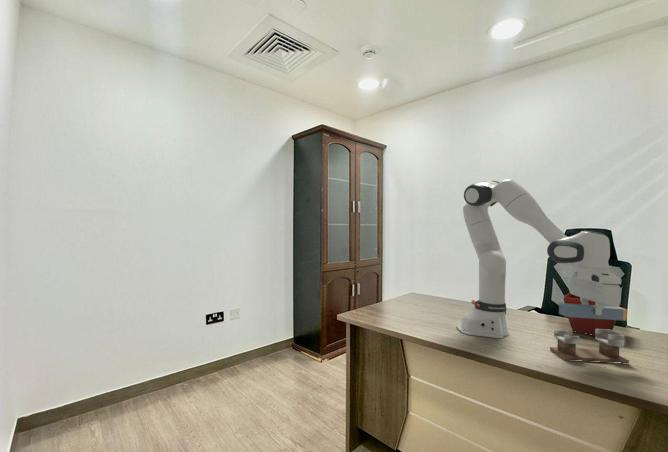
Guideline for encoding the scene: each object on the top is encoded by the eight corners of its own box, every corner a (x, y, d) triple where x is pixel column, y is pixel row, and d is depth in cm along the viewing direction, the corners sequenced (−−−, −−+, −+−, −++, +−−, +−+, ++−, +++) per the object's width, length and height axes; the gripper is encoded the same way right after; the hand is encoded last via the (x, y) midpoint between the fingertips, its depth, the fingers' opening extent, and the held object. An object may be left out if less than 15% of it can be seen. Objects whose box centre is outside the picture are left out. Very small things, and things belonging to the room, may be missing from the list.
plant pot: (569, 323, 154) (570, 291, 154) (620, 333, 140) (620, 297, 140) (562, 331, 141) (563, 296, 141) (618, 343, 127) (618, 304, 127)
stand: (565, 360, 109) (565, 333, 109) (550, 350, 118) (550, 325, 118) (629, 364, 107) (629, 336, 107) (608, 354, 116) (608, 328, 116)
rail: (565, 316, 107) (566, 305, 107) (558, 313, 111) (559, 303, 111) (626, 320, 105) (627, 309, 105) (617, 317, 109) (617, 306, 109)
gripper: (565, 270, 119) (563, 304, 119) (605, 279, 99) (603, 320, 99) (582, 271, 118) (581, 305, 118) (626, 280, 98) (624, 321, 98)
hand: (591, 312), depth 108 cm, fingers closed on rail, 4 cm apart
